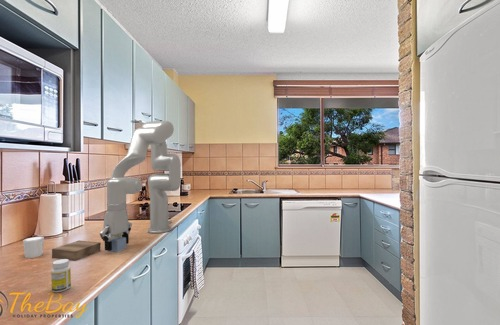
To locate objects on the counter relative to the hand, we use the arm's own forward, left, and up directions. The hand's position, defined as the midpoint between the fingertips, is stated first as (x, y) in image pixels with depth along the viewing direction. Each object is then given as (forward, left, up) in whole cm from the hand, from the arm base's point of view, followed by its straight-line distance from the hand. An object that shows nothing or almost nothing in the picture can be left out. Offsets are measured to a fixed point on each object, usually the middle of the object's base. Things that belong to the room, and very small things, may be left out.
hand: (117, 246), depth 117 cm
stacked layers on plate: (-12, -12, -2) cm, 17 cm away
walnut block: (+9, -12, -2) cm, 15 cm away
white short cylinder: (+15, -28, -2) cm, 32 cm away
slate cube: (0, 0, -1) cm, 1 cm away
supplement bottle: (+34, +11, -2) cm, 36 cm away
